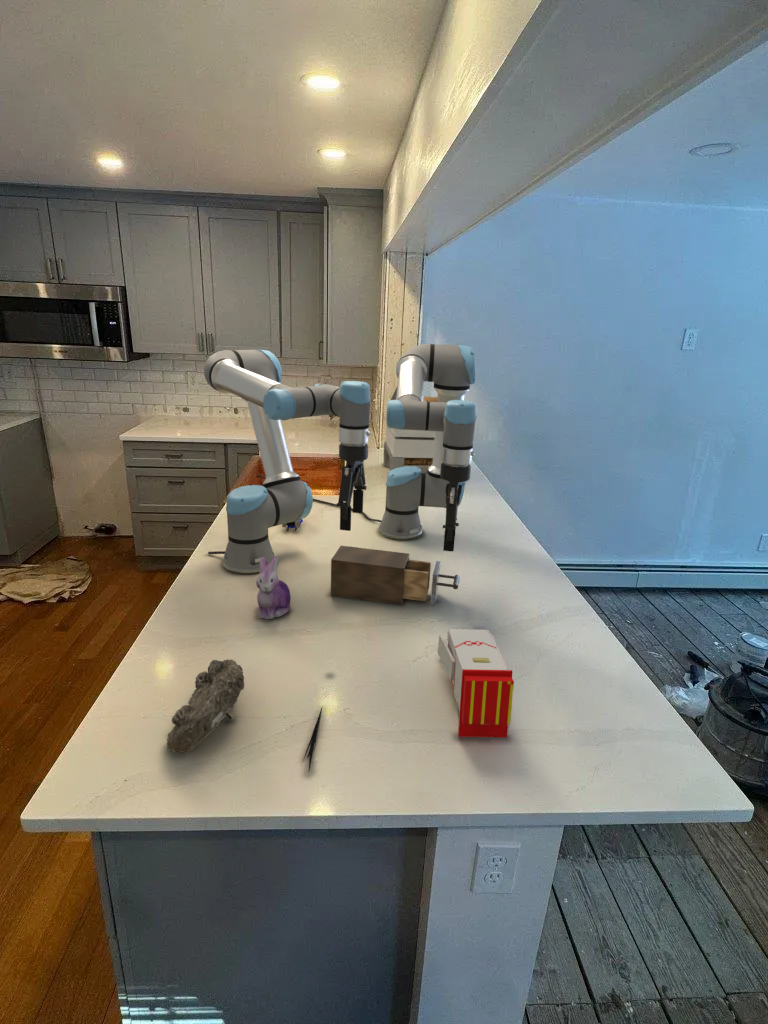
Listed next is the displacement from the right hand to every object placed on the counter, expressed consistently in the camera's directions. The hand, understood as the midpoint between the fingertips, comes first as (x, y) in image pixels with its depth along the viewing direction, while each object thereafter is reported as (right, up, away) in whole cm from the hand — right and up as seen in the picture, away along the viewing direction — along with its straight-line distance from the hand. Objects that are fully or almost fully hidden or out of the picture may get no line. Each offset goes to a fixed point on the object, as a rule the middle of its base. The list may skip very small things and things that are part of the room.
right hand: (448, 550), depth 150 cm
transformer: (0, +29, +125) cm, 129 cm away
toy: (+1, -28, -31) cm, 42 cm away
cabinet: (-21, -12, +9) cm, 26 cm away
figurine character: (-49, +5, +53) cm, 72 cm away
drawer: (-9, -13, +6) cm, 17 cm away
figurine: (-45, -16, -4) cm, 48 cm away
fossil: (-50, -29, -42) cm, 71 cm away
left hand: (-26, +8, +3) cm, 27 cm away
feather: (-29, -30, -41) cm, 59 cm away
